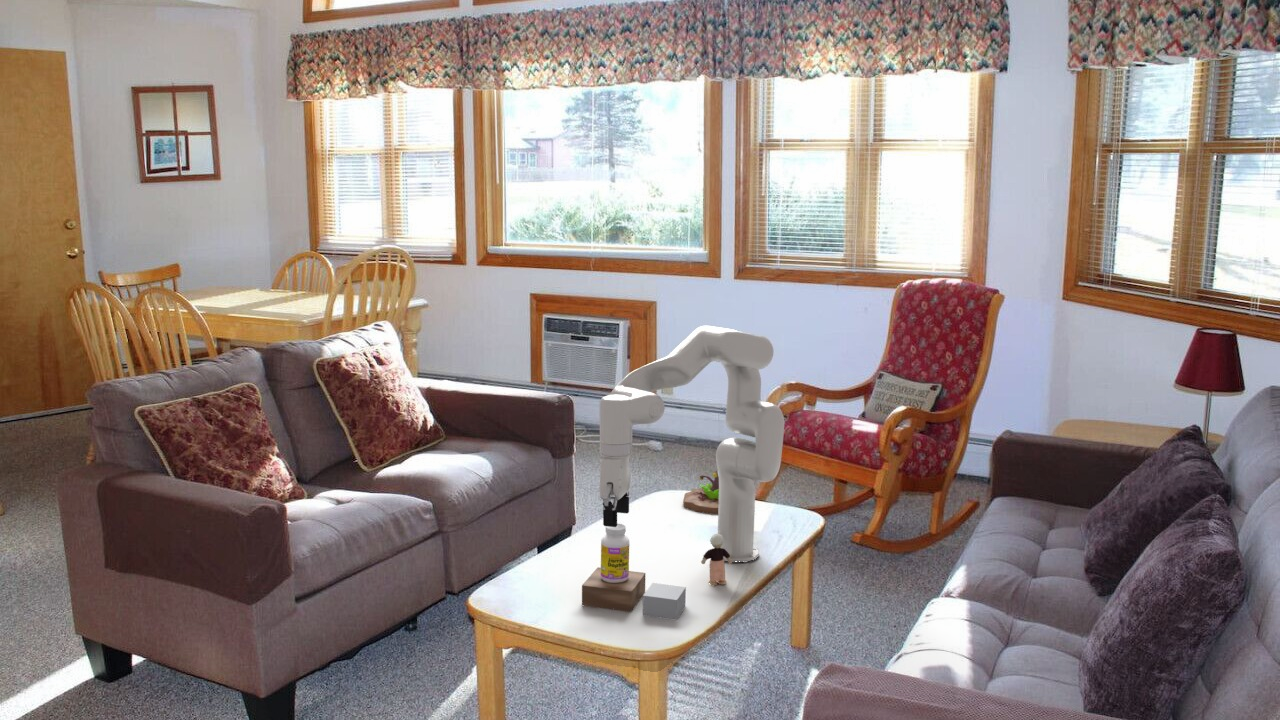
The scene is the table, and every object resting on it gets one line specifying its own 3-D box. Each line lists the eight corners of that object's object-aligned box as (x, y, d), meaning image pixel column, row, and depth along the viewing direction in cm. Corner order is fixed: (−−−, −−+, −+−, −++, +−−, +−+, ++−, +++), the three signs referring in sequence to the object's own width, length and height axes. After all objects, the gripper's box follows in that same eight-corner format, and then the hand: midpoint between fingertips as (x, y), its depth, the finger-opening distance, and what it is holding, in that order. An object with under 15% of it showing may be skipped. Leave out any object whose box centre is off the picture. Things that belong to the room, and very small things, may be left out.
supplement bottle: (604, 585, 246) (604, 532, 244) (597, 574, 252) (598, 523, 250) (632, 582, 248) (632, 530, 246) (624, 572, 254) (625, 521, 252)
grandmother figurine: (726, 578, 265) (727, 530, 262) (733, 584, 261) (734, 534, 259) (698, 582, 262) (699, 533, 260) (704, 588, 258) (705, 538, 256)
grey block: (652, 602, 250) (652, 582, 249) (685, 607, 247) (685, 587, 246) (642, 616, 242) (642, 595, 241) (676, 620, 240) (677, 600, 239)
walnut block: (597, 586, 258) (597, 567, 257) (645, 592, 255) (645, 572, 254) (581, 605, 247) (581, 585, 246) (631, 612, 244) (631, 591, 243)
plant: (675, 511, 319) (676, 475, 317) (690, 492, 337) (691, 458, 335) (740, 517, 313) (742, 481, 311) (752, 499, 332) (754, 464, 330)
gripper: (611, 438, 254) (611, 506, 257) (588, 457, 237) (589, 530, 241) (641, 440, 252) (641, 509, 255) (621, 459, 235) (621, 533, 239)
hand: (616, 519), depth 248 cm, fingers open, 9 cm apart
